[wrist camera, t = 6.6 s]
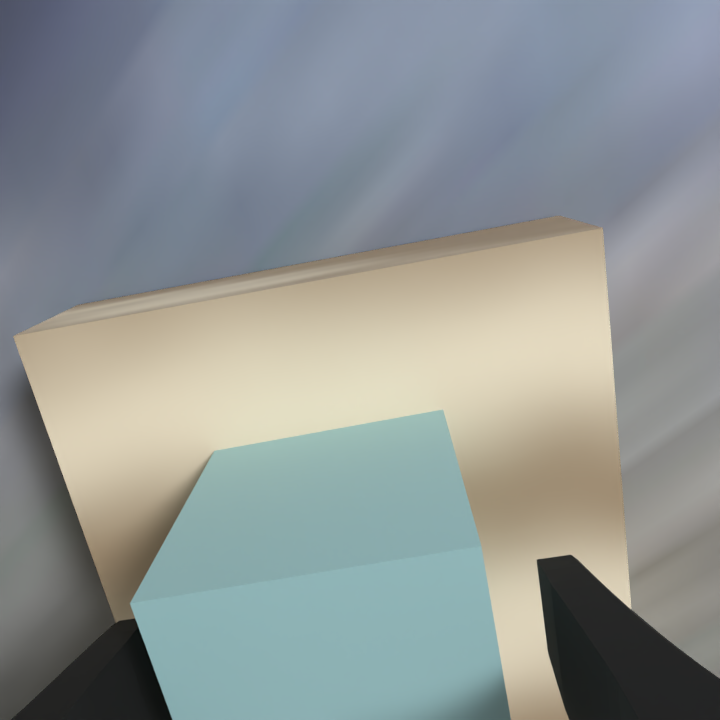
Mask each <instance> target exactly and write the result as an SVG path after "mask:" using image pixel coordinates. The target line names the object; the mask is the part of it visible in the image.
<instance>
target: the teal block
mask: <svg viewBox="0 0 720 720" xmlns="http://www.w3.org/2000/svg"><path fill="white" fill-rule="evenodd" d="M130 605H131V608H132V611H133V613H134V616H135V619H136V622H137V624H138V627H139V630H140V633H141V635H142V638H143V641H144V643H145V646H146V649H147V652H148V654H149V657H150V660H151V663H152V665H153V668H154V671H155V674H156V676H157V679H158V682H159V684H160V687H161V690H162V693H163V695H164V698H165V701H166V704H167V706H168V709H169V712H170V714H171V717H172V720H511V717H510V711H509V705H508V699H507V693H506V687H505V682H504V676H503V670H502V664H501V658H500V652H499V646H498V641H497V635H496V629H495V623H494V617H493V611H492V605H491V600H490V594H489V588H488V582H487V576H486V570H485V564H484V558H483V553H482V547H481V543H480V539H479V536H478V532H477V529H476V525H475V522H474V518H473V514H472V511H471V507H470V504H469V500H468V497H467V493H466V489H465V486H464V482H463V479H462V475H461V472H460V468H459V464H458V461H457V457H456V454H455V450H454V447H453V443H452V440H451V436H450V432H449V429H448V425H447V422H446V418H445V415H444V411H443V410H438V411H432V412H427V413H421V414H415V415H410V416H404V417H399V418H393V419H388V420H382V421H377V422H371V423H366V424H360V425H355V426H349V427H344V428H338V429H333V430H327V431H322V432H316V433H310V434H305V435H299V436H294V437H288V438H283V439H277V440H272V441H266V442H261V443H255V444H250V445H244V446H239V447H233V448H228V449H222V450H217V451H214V452H213V454H212V456H211V458H210V460H209V461H208V463H207V465H206V467H205V469H204V470H203V472H202V474H201V476H200V478H199V479H198V481H197V483H196V485H195V487H194V489H193V490H192V492H191V494H190V496H189V498H188V499H187V501H186V503H185V505H184V507H183V508H182V510H181V512H180V514H179V516H178V517H177V519H176V521H175V523H174V525H173V526H172V528H171V530H170V532H169V534H168V535H167V537H166V539H165V541H164V543H163V545H162V546H161V548H160V550H159V552H158V554H157V555H156V557H155V559H154V561H153V563H152V564H151V566H150V568H149V570H148V572H147V573H146V575H145V577H144V579H143V581H142V582H141V584H140V586H139V588H138V590H137V592H136V593H135V595H134V597H133V599H132V601H131V602H130Z"/></svg>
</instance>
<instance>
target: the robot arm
mask: <svg viewBox="0 0 720 720" xmlns="http://www.w3.org/2000/svg"><path fill="white" fill-rule="evenodd" d="M537 568H538V576H539V584H540V592H541V600H542V608H543V617H544V625H545V633H546V641H547V649H548V655H549V658H550V661H551V665H552V668H553V671H554V675H555V678H556V682H557V685H558V688H559V691H560V695H561V698H562V701H563V704H564V708H565V711H566V713H567V715H568V718H569V720H720V679H719V678H718V677H717V676H715V675H714V674H712V673H711V672H710V671H708V670H707V669H705V668H704V667H703V666H701V665H700V664H699V663H697V662H696V661H695V660H693V659H692V658H691V657H689V656H688V655H687V654H685V653H684V652H683V651H681V650H680V649H679V648H677V647H676V646H675V645H673V644H672V643H671V642H670V641H668V640H667V639H666V638H665V637H663V636H662V635H661V634H660V633H658V632H657V631H656V630H655V629H654V628H653V627H651V626H650V625H649V624H648V623H647V622H645V621H644V620H643V619H642V618H641V617H639V616H638V615H637V614H636V613H635V612H633V611H632V610H631V609H630V608H629V607H628V606H627V605H625V604H624V603H623V602H622V601H621V600H620V599H619V598H618V597H617V596H615V595H614V594H613V593H612V592H611V591H610V590H609V589H608V588H607V587H606V586H605V585H604V584H602V583H601V582H600V581H599V580H598V579H597V578H596V577H595V576H594V575H593V574H592V573H591V572H590V571H589V570H588V569H587V568H586V567H585V566H584V565H583V564H582V563H581V562H580V561H579V560H578V559H576V558H575V557H574V556H572V555H565V556H558V557H551V558H544V559H537ZM11 720H172V717H171V714H170V712H169V709H168V706H167V704H166V701H165V698H164V695H163V693H162V690H161V687H160V684H159V682H158V679H157V676H156V674H155V671H154V668H153V665H152V663H151V660H150V657H149V654H148V652H147V649H146V646H145V643H144V641H143V638H142V635H141V633H140V630H139V627H138V624H137V622H136V619H135V618H134V619H127V620H121V621H118V622H117V623H115V624H114V625H113V626H112V627H111V628H109V629H108V630H107V631H106V632H105V633H104V634H103V635H101V636H100V637H99V638H98V639H97V640H96V641H95V642H94V643H93V644H92V645H91V646H90V647H88V648H87V649H86V650H85V651H84V652H83V653H82V654H81V655H80V656H79V657H78V658H77V659H76V660H75V661H74V662H73V663H72V664H71V665H69V666H68V667H67V668H66V669H65V670H64V671H63V672H62V673H61V674H60V675H59V676H58V677H57V678H56V679H55V680H54V681H53V682H51V683H50V684H49V685H48V686H47V687H46V688H45V689H44V690H43V691H42V692H41V693H40V694H39V695H38V696H37V697H36V698H34V699H33V700H32V701H31V702H30V703H29V704H28V705H27V706H26V707H25V708H24V709H23V710H22V711H20V712H19V713H18V714H17V715H16V716H15V717H14V718H12V719H11Z"/></svg>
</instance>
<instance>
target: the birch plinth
mask: <svg viewBox="0 0 720 720" xmlns="http://www.w3.org/2000/svg"><path fill="white" fill-rule="evenodd" d="M13 337H14V340H15V343H16V345H17V348H18V351H19V354H20V357H21V359H22V362H23V365H24V368H25V371H26V373H27V376H28V379H29V382H30V385H31V387H32V390H33V393H34V396H35V399H36V401H37V404H38V407H39V410H40V412H41V415H42V418H43V421H44V424H45V426H46V429H47V432H48V435H49V438H50V440H51V443H52V446H53V449H54V452H55V454H56V457H57V460H58V463H59V466H60V468H61V471H62V474H63V477H64V480H65V482H66V485H67V488H68V491H69V493H70V496H71V499H72V502H73V505H74V507H75V510H76V513H77V516H78V519H79V521H80V524H81V527H82V530H83V533H84V535H85V538H86V541H87V544H88V547H89V549H90V552H91V555H92V558H93V561H94V563H95V566H96V569H97V572H98V574H99V577H100V580H101V583H102V586H103V588H104V591H105V594H106V597H107V600H108V602H109V605H110V608H111V611H112V614H113V616H114V619H115V622H116V623H117V622H118V621H121V620H127V619H134V618H135V616H134V613H133V611H132V608H131V605H130V602H131V601H132V599H133V597H134V595H135V593H136V592H137V590H138V588H139V586H140V584H141V582H142V581H143V579H144V577H145V575H146V573H147V572H148V570H149V568H150V566H151V564H152V563H153V561H154V559H155V557H156V555H157V554H158V552H159V550H160V548H161V546H162V545H163V543H164V541H165V539H166V537H167V535H168V534H169V532H170V530H171V528H172V526H173V525H174V523H175V521H176V519H177V517H178V516H179V514H180V512H181V510H182V508H183V507H184V505H185V503H186V501H187V499H188V498H189V496H190V494H191V492H192V490H193V489H194V487H195V485H196V483H197V481H198V479H199V478H200V476H201V474H202V472H203V470H204V469H205V467H206V465H207V463H208V461H209V460H210V458H211V456H212V454H213V452H214V451H217V450H222V449H228V448H233V447H239V446H244V445H250V444H255V443H261V442H266V441H272V440H277V439H283V438H288V437H294V436H299V435H305V434H310V433H316V432H322V431H327V430H333V429H338V428H344V427H349V426H355V425H360V424H366V423H371V422H377V421H382V420H388V419H393V418H399V417H404V416H410V415H415V414H421V413H427V412H432V411H438V410H443V411H444V415H445V418H446V422H447V425H448V429H449V432H450V436H451V440H452V443H453V447H454V450H455V454H456V457H457V461H458V464H459V468H460V472H461V475H462V479H463V482H464V486H465V489H466V493H467V497H468V500H469V504H470V507H471V511H472V514H473V518H474V522H475V525H476V529H477V532H478V536H479V539H480V543H481V547H482V553H483V558H484V564H485V570H486V576H487V582H488V588H489V594H490V600H491V605H492V611H493V617H494V623H495V629H496V635H497V641H498V646H499V652H500V658H501V664H502V670H503V676H504V682H505V687H506V693H507V699H508V705H509V711H510V717H511V720H569V718H568V715H567V713H566V711H565V708H564V704H563V701H562V698H561V695H560V691H559V688H558V685H557V682H556V678H555V675H554V671H553V668H552V665H551V661H550V658H549V655H548V649H547V641H546V633H545V625H544V617H543V608H542V600H541V592H540V584H539V576H538V568H537V559H544V558H551V557H558V556H565V555H572V556H574V557H575V558H576V559H578V560H579V561H580V562H581V563H582V564H583V565H584V566H585V567H586V568H587V569H588V570H589V571H590V572H591V573H592V574H593V575H594V576H595V577H596V578H597V579H598V580H599V581H600V582H601V583H602V584H604V585H605V586H606V587H607V588H608V589H609V590H610V591H611V592H612V593H613V594H614V595H615V596H617V597H618V598H619V599H620V600H621V601H622V602H623V603H624V604H625V605H627V606H628V607H629V608H630V609H631V599H630V585H629V572H628V559H627V545H626V532H625V519H624V505H623V492H622V479H621V465H620V452H619V439H618V425H617V412H616V399H615V385H614V372H613V359H612V346H611V332H610V319H609V306H608V292H607V279H606V266H605V252H604V239H603V228H601V227H597V226H594V225H590V224H587V223H583V222H580V221H576V220H573V219H569V218H566V217H562V216H555V217H549V218H544V219H539V220H533V221H528V222H522V223H517V224H512V225H506V226H501V227H495V228H490V229H485V230H479V231H474V232H469V233H463V234H458V235H452V236H447V237H442V238H436V239H431V240H425V241H420V242H415V243H409V244H404V245H399V246H393V247H388V248H382V249H377V250H372V251H366V252H361V253H355V254H350V255H345V256H339V257H334V258H329V259H323V260H318V261H312V262H307V263H302V264H296V265H291V266H285V267H280V268H275V269H269V270H264V271H259V272H253V273H248V274H242V275H237V276H232V277H226V278H221V279H215V280H210V281H205V282H199V283H194V284H189V285H183V286H178V287H172V288H167V289H162V290H156V291H151V292H145V293H140V294H135V295H129V296H124V297H119V298H113V299H108V300H102V301H97V302H92V303H86V304H81V305H77V306H75V307H73V308H71V309H69V310H67V311H64V312H62V313H60V314H58V315H56V316H54V317H52V318H50V319H48V320H46V321H44V322H42V323H40V324H37V325H35V326H33V327H31V328H29V329H27V330H25V331H23V332H21V333H19V334H17V335H15V336H13Z"/></svg>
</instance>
